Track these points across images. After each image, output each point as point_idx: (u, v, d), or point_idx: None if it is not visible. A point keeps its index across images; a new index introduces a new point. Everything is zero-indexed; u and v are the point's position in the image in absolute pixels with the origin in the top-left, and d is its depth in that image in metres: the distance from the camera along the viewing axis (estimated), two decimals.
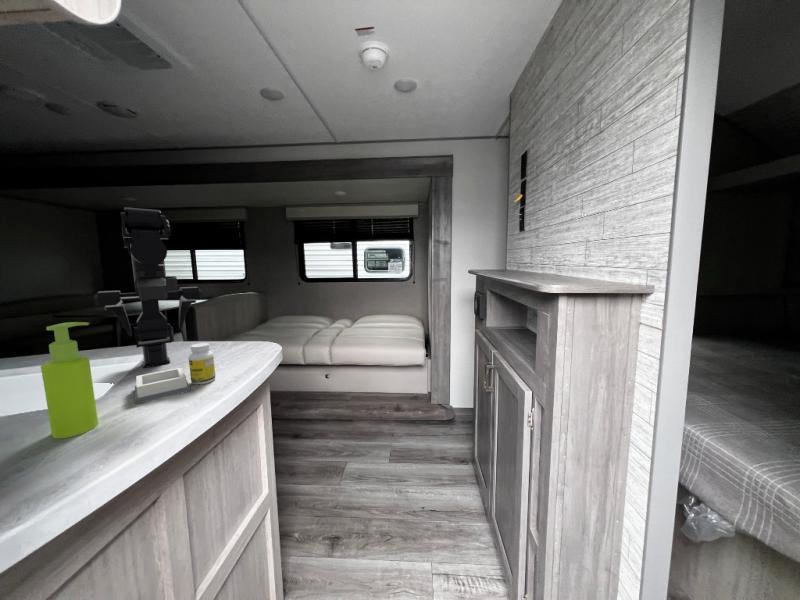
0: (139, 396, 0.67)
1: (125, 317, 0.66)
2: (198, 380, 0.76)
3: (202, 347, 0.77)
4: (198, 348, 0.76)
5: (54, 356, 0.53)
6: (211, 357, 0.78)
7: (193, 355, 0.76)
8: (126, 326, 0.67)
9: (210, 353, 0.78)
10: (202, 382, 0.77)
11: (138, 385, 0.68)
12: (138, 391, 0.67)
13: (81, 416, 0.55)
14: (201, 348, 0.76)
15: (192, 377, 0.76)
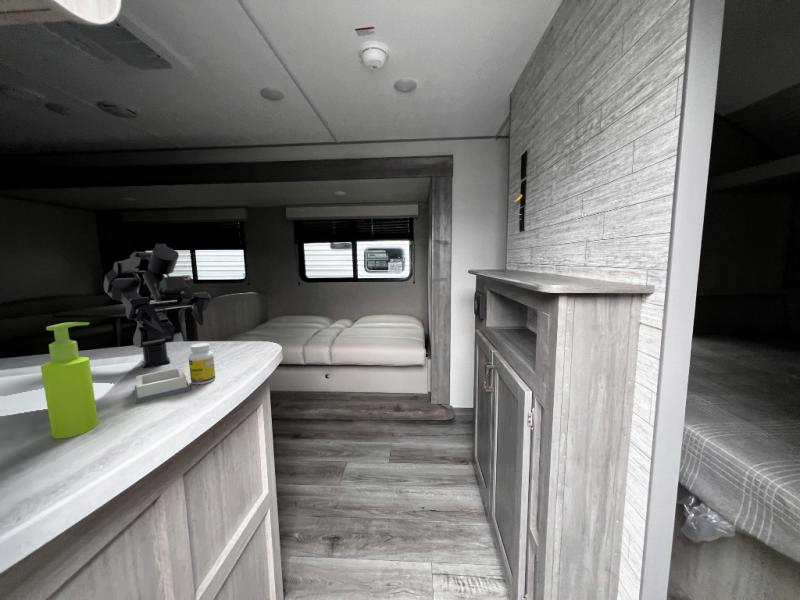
0: (139, 396, 0.67)
1: (156, 315, 0.78)
2: (198, 380, 0.76)
3: (202, 347, 0.77)
4: (198, 348, 0.76)
5: (54, 356, 0.53)
6: (211, 357, 0.78)
7: (193, 355, 0.76)
8: (159, 322, 0.77)
9: (210, 353, 0.78)
10: (202, 382, 0.77)
11: (138, 385, 0.68)
12: (138, 391, 0.67)
13: (81, 416, 0.55)
14: (201, 348, 0.76)
15: (192, 377, 0.76)
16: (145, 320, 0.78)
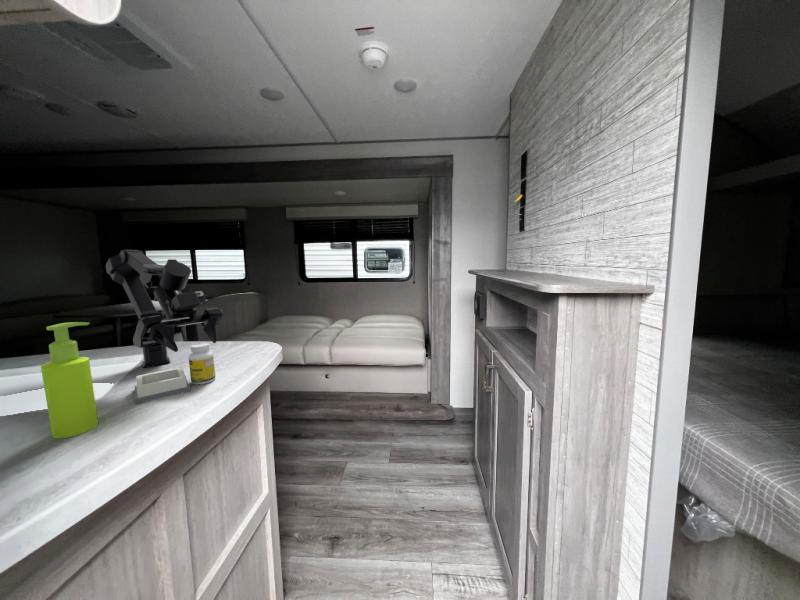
0: (139, 396, 0.67)
1: (169, 334, 0.75)
2: (198, 380, 0.76)
3: (202, 347, 0.77)
4: (198, 348, 0.76)
5: (54, 356, 0.53)
6: (211, 357, 0.78)
7: (193, 355, 0.76)
8: (172, 341, 0.75)
9: (210, 353, 0.78)
10: (202, 382, 0.77)
11: (138, 385, 0.68)
12: (138, 391, 0.67)
13: (81, 416, 0.55)
14: (201, 348, 0.76)
15: (192, 377, 0.76)
16: (157, 339, 0.76)
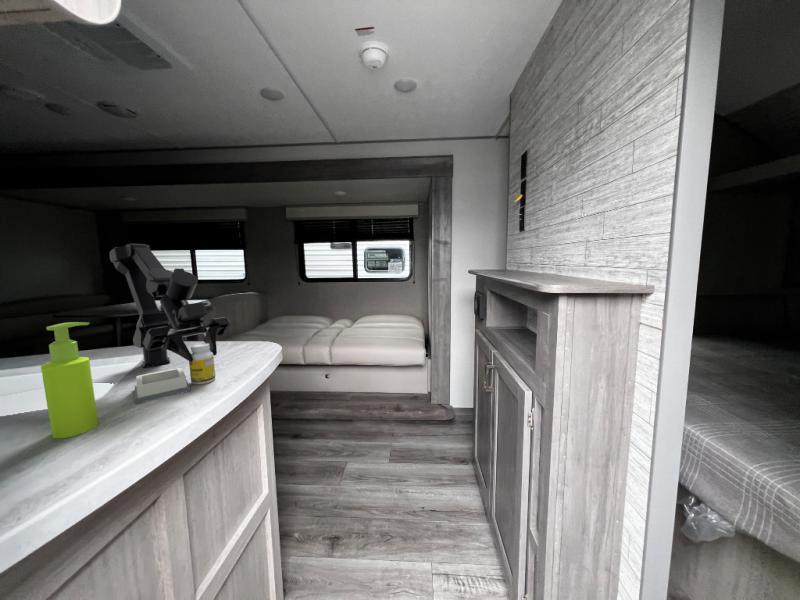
0: (139, 396, 0.67)
1: (184, 344, 0.75)
2: (198, 380, 0.76)
3: (202, 347, 0.77)
4: (198, 348, 0.76)
5: (54, 356, 0.53)
6: (211, 357, 0.78)
7: (193, 355, 0.76)
8: (187, 351, 0.75)
9: (210, 353, 0.78)
10: (202, 382, 0.77)
11: (138, 385, 0.68)
12: (138, 391, 0.67)
13: (81, 416, 0.55)
14: (201, 348, 0.76)
15: (192, 377, 0.76)
16: (172, 348, 0.76)
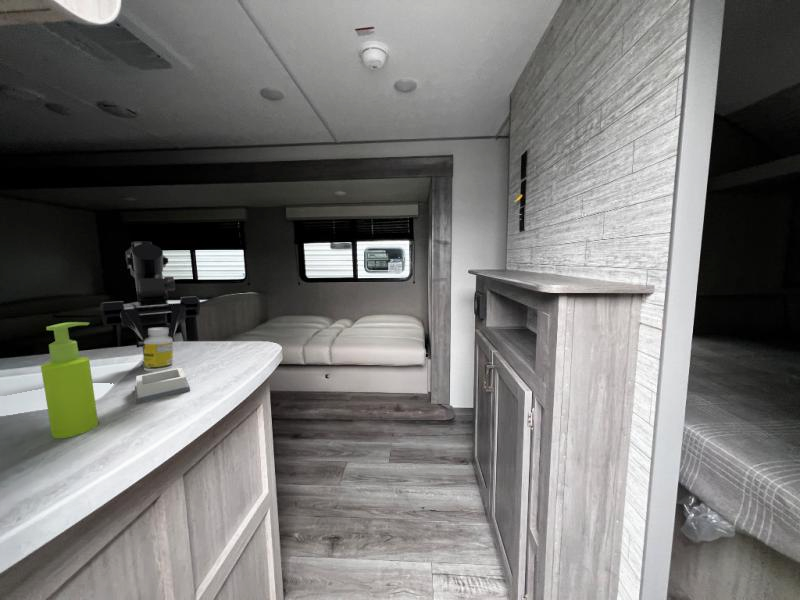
0: (139, 396, 0.67)
1: (139, 321, 0.70)
2: (147, 366, 0.70)
3: (157, 330, 0.70)
4: (152, 331, 0.70)
5: (54, 356, 0.53)
6: (166, 343, 0.72)
7: (147, 338, 0.71)
8: (140, 329, 0.69)
9: (166, 339, 0.72)
10: (151, 369, 0.70)
11: (138, 385, 0.68)
12: (138, 391, 0.67)
13: (81, 416, 0.55)
14: (155, 331, 0.70)
15: (144, 362, 0.71)
16: (131, 325, 0.72)
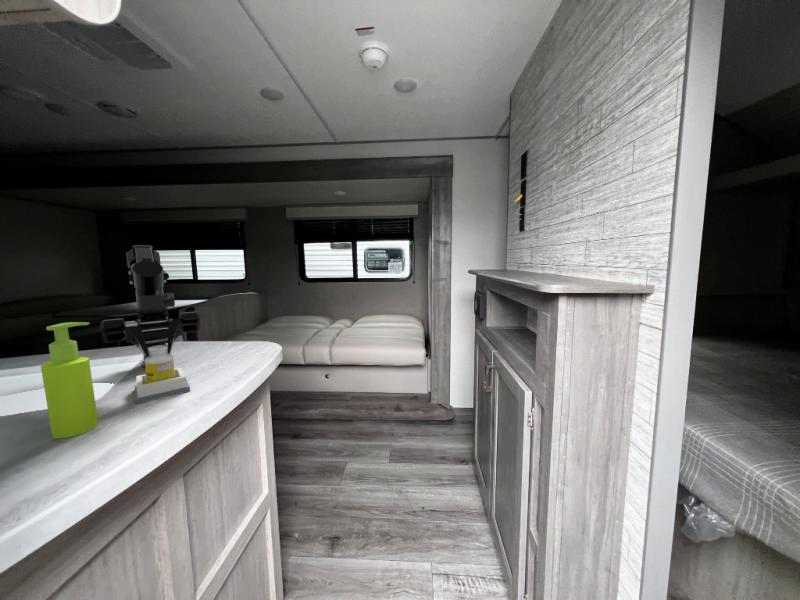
0: (139, 396, 0.67)
1: (142, 338, 0.71)
2: None
3: (155, 350, 0.70)
4: (151, 351, 0.70)
5: (54, 356, 0.53)
6: (165, 362, 0.71)
7: (147, 357, 0.71)
8: (143, 346, 0.70)
9: (165, 357, 0.72)
10: None
11: (138, 385, 0.68)
12: (138, 391, 0.67)
13: (81, 416, 0.55)
14: (154, 351, 0.70)
15: None
16: (135, 342, 0.72)
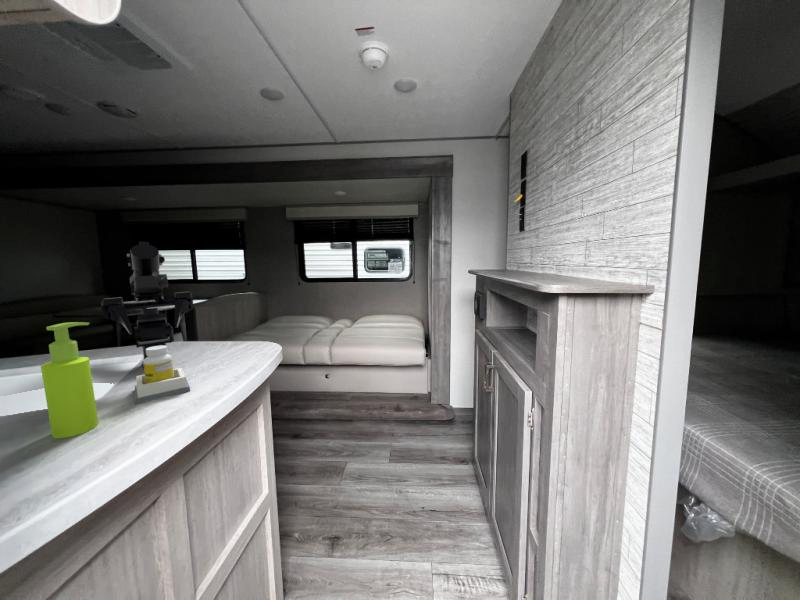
0: (139, 396, 0.67)
1: (126, 316, 0.76)
2: None
3: (153, 351, 0.70)
4: (149, 351, 0.70)
5: (54, 356, 0.53)
6: (164, 362, 0.71)
7: (146, 358, 0.71)
8: (127, 324, 0.75)
9: (164, 358, 0.72)
10: None
11: (138, 385, 0.68)
12: (138, 391, 0.67)
13: (81, 416, 0.55)
14: (152, 352, 0.70)
15: None
16: (120, 320, 0.77)
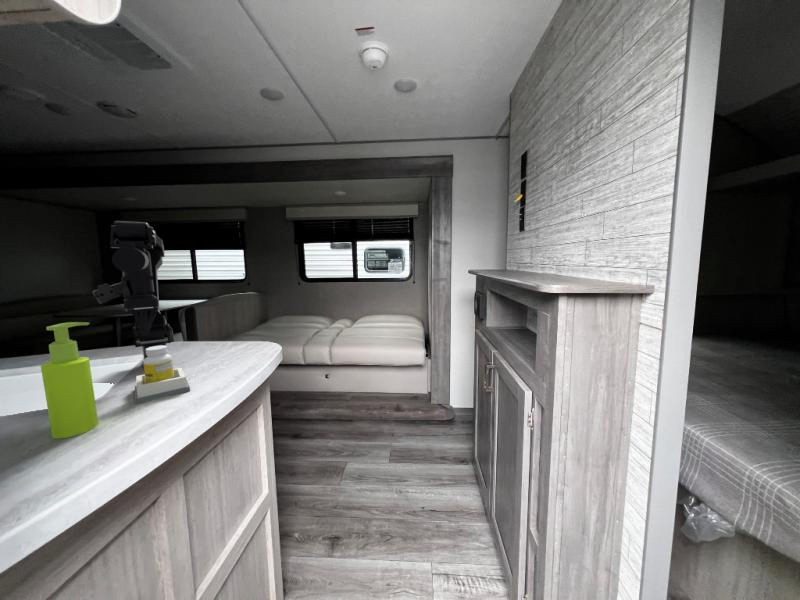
0: (139, 396, 0.67)
1: None
2: None
3: (153, 351, 0.70)
4: (149, 351, 0.70)
5: (54, 356, 0.53)
6: (164, 362, 0.71)
7: (146, 358, 0.71)
8: None
9: (164, 358, 0.72)
10: None
11: (138, 385, 0.68)
12: (138, 391, 0.67)
13: (81, 416, 0.55)
14: (152, 352, 0.70)
15: (146, 381, 0.71)
16: None
